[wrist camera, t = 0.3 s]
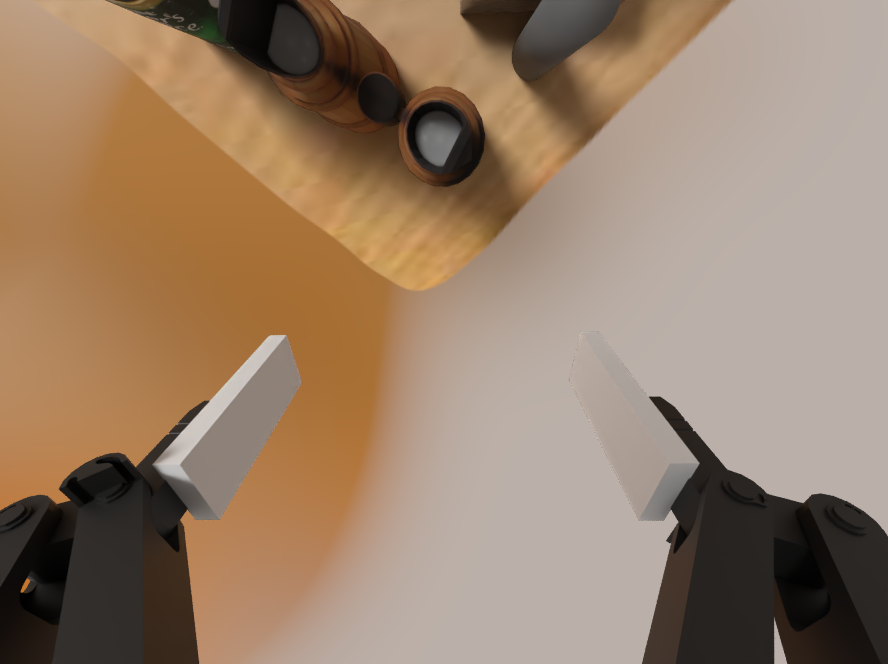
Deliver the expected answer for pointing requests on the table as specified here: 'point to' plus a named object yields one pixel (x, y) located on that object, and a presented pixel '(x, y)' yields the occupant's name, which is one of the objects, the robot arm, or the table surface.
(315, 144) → the table surface
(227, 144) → the table surface
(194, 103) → the table surface
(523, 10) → the breaker box
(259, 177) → the table surface
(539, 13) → the post
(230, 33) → the binoculars
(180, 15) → the coffee jar
